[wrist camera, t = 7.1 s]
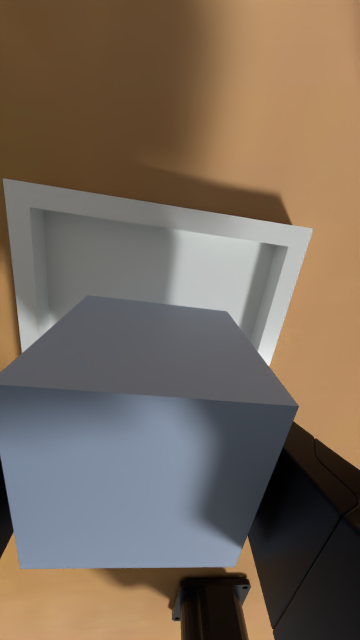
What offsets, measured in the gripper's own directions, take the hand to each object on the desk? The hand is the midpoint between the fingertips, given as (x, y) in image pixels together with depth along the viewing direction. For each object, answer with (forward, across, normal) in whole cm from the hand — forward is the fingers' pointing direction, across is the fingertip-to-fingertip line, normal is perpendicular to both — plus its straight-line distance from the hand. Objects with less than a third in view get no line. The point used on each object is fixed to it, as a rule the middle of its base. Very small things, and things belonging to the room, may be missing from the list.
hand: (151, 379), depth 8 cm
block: (+1, 0, 0) cm, 1 cm away
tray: (+4, 0, 0) cm, 4 cm away
